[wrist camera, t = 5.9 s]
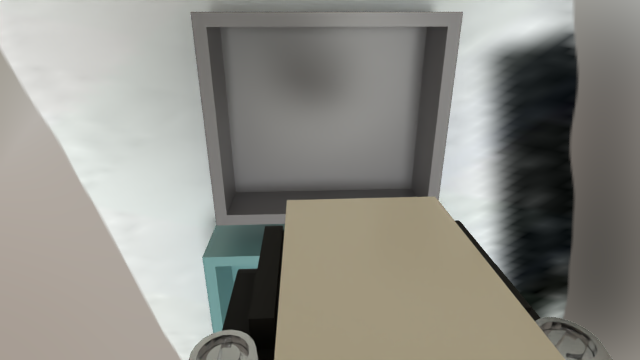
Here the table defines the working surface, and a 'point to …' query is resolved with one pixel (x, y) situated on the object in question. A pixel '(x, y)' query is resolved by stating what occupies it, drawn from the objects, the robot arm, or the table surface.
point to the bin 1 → (229, 263)
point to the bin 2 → (323, 106)
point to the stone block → (394, 287)
